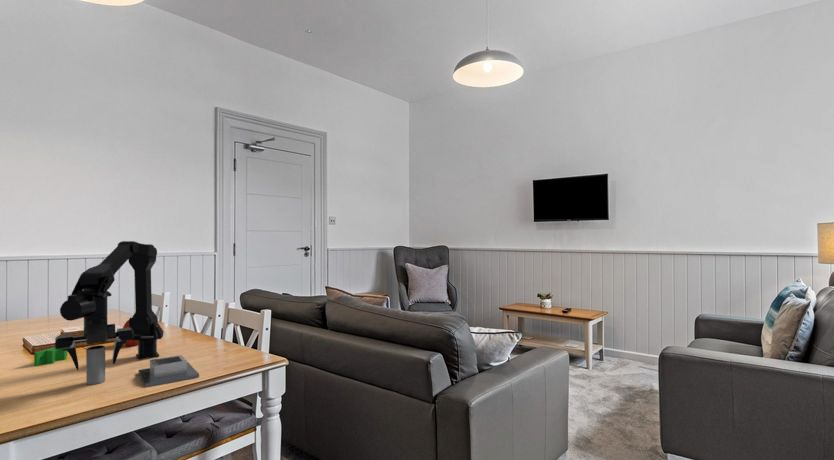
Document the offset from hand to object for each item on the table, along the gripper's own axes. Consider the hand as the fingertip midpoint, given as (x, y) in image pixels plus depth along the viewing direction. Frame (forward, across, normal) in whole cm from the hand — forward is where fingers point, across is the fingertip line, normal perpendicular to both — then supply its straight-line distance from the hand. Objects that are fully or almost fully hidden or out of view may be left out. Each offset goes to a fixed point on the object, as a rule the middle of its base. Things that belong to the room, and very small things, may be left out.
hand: (95, 366), depth 134 cm
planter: (+5, 0, 0) cm, 5 cm away
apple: (+5, +14, +44) cm, 46 cm away
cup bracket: (+4, +18, -6) cm, 20 cm away
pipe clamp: (+5, -10, +35) cm, 37 cm away
